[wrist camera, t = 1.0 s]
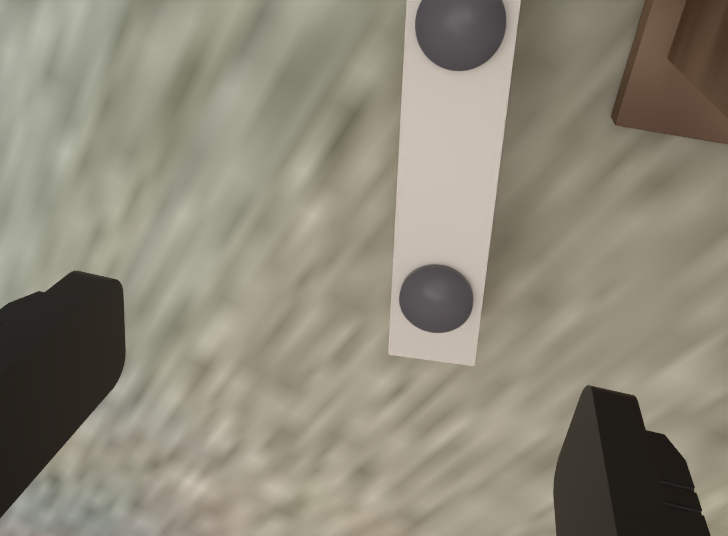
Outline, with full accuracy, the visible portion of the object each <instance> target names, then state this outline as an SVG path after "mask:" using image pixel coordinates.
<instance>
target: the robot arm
mask: <svg viewBox="0 0 728 536" xmlns="http://www.w3.org/2000/svg"><path fill="white" fill-rule="evenodd" d="M125 352H126V350H125V324H124V298H123V288H122V285H121V283H120V282H119V281H118V280H117V279H113V278H108V277H104V276H99V275H95V274H90V273H85V272H81V271H73V272H71V273H69V274H68V275H66V276H65V277H64V278H62V279H61V280H60V281H59V282H57V283H56V284H55V285H53V286H52V287H51V288H50V289H48V290H47V291H46V292H40V291H38V292H36V293H33V294H31V295H28V296H26V297H23V298H20V299H18V300H15V301H13V302H10V303H8V304H7V305H5V306H4V307H3V308H1V309H0V518H1V517H2V516H3V514H4V513H5V512H6V511H7V510H8V509H9V507H10V506H11V505H12V504H13V503H14V502H15V501H16V499H17V498H18V497H19V496H20V495H21V494H22V493H23V491H24V490H25V489H26V488H27V487H28V486H29V484H30V483H31V482H32V481H33V480H34V479H35V478H36V476H37V475H38V474H39V473H40V472H41V471H42V470H43V468H44V467H45V466H46V465H47V464H48V463H49V461H50V460H51V459H52V458H53V457H54V456H55V455H56V453H57V452H58V451H59V450H60V449H61V448H62V447H63V445H64V444H65V443H66V442H67V441H68V440H69V438H70V437H71V436H72V435H73V434H74V433H75V432H76V430H77V429H78V428H79V427H80V426H81V425H82V423H83V422H84V421H85V420H86V419H87V418H88V417H89V415H90V414H91V413H92V412H93V411H94V410H95V409H96V407H97V406H98V405H99V404H100V403H101V402H102V400H103V399H104V398H105V397H106V396H107V395H108V394H109V392H110V391H111V390H112V389H113V388H114V386H115V385H116V383H117V382H118V380H119V378H120V375H121V373H122V370H123V366H124V362H125ZM694 488H695V487H694V484H693V481H692V478H691V475H690V472H689V469H688V466H687V463H686V460H685V459H684V458H683V457H682V455H681V454H680V453H679V452H678V450H677V449H676V448H675V447H674V446H673V444H672V443H671V442H670V441H669V439H668V438H667V437H666V436H665V435H664V434H660V433H655V432H651V431H647V430H645V426H644V422H643V418H642V415H641V411H640V407H639V404H638V400H637V398H636V397H635V396H634V395H630V394H625V393H621V392H616V391H612V390H607V389H603V388H598V387H594V386H589V385H587V386H586V387H585V388H584V390H583V391H582V393H581V396H580V399H579V401H578V404H577V407H576V410H575V413H574V415H573V418H572V421H571V424H570V427H569V429H568V432H567V435H566V438H565V441H564V443H563V446H562V449H561V452H560V455H559V458H558V461H557V466H556V471H555V477H554V491H553V493H554V508H555V522H556V535H557V536H710V533H709V530H708V527H707V524H706V521H705V517H704V516H703V515H701V511H702V508H701V505H700V502H699V499H698V496H697V493H695V492H694Z"/></svg>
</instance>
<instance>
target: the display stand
mask: <svg viewBox="0 0 728 536" xmlns="http://www.w3.org/2000/svg"><path fill="white" fill-rule="evenodd" d="M611 117H612V119H613V122H614V124H615V125H617V126H623V127H629V128H635V129H641V130H647V131H653V132H659V133H665V134H671V135H676V136H682V137H688V138H694V139H700V140H706V141H712V142H718V143H724V144H728V0H646V2H645V5H644V8H643V12H642V15H641V18H640V22H639V25H638V28H637V32H636V35H635V38H634V42H633V45H632V48H631V52H630V55H629V58H628V62H627V65H626V68H625V71H624V75H623V78H622V81H621V85H620V88H619V91H618V95H617V98H616V101H615V105H614V108H613V111H612V115H611Z"/></svg>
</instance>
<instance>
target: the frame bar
mask: <svg viewBox="0 0 728 536" xmlns="http://www.w3.org/2000/svg"><path fill="white" fill-rule="evenodd" d="M520 2H521V0H407V6H406V25H405V44H404V63H403V82H402V102H401V121H400V140H399V159H398V179H397V198H396V217H395V236H394V255H393V275H392V294H391V313H390V332H389V352H388V355H395V356H402V357H410V358H417V359H425V360H432V361H439V362H447V363H454V364H462V365H469V366H474V365H475V358H476V350H477V342H478V334H479V326H480V318H481V310H482V302H483V294H484V287H485V279H486V271H487V263H488V255H489V247H490V239H491V231H492V223H493V216H494V208H495V200H496V192H497V184H498V176H499V168H500V160H501V152H502V145H503V137H504V129H505V121H506V113H507V105H508V97H509V89H510V81H511V73H512V66H513V58H514V50H515V42H516V34H517V26H518V18H519V10H520Z"/></svg>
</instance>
